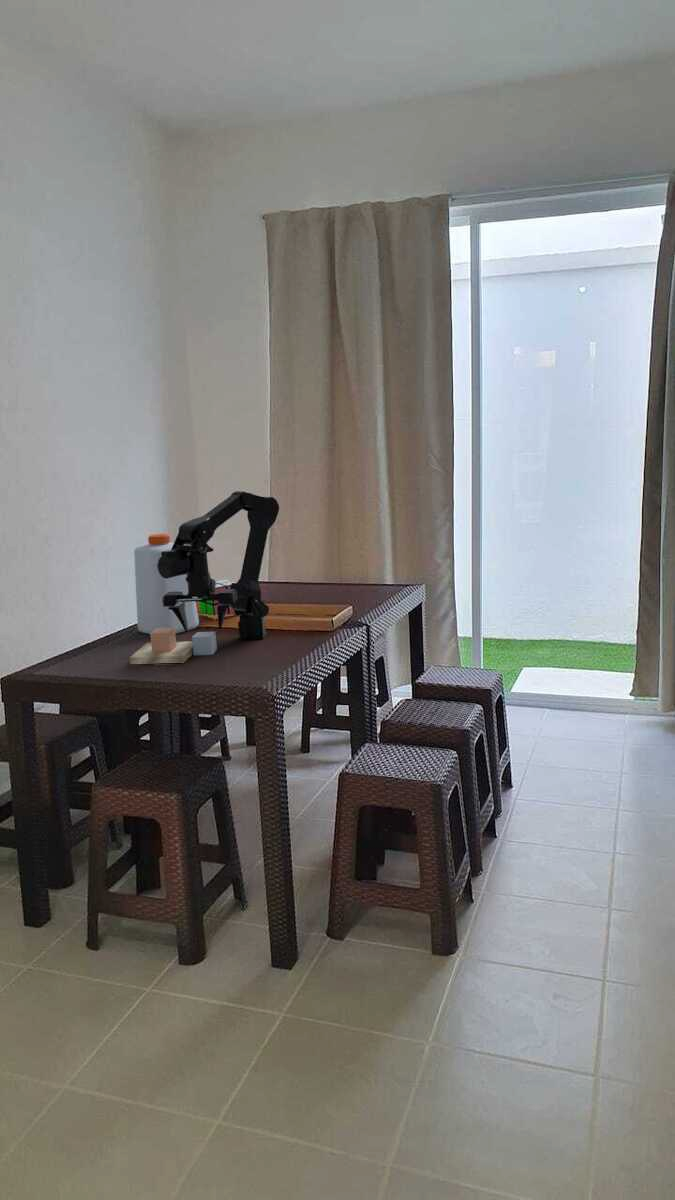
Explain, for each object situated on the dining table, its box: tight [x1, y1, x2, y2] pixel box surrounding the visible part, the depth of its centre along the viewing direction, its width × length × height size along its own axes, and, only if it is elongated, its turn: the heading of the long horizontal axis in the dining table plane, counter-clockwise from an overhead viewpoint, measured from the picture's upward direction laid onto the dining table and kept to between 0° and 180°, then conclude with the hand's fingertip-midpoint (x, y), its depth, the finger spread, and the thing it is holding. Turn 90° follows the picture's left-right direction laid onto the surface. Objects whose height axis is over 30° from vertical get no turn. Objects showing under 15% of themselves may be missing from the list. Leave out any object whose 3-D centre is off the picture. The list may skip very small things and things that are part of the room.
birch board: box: [129, 640, 194, 664], centre depth 231 cm, size 14×14×2 cm
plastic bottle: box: [133, 533, 200, 635], centre depth 257 cm, size 15×15×28 cm
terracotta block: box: [149, 628, 177, 652], centre depth 230 cm, size 5×5×5 cm
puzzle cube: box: [198, 579, 238, 615], centre depth 273 cm, size 10×10×10 cm
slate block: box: [191, 631, 218, 656], centre depth 232 cm, size 5×5×5 cm
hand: (203, 629), depth 232 cm, fingers open, 9 cm apart
